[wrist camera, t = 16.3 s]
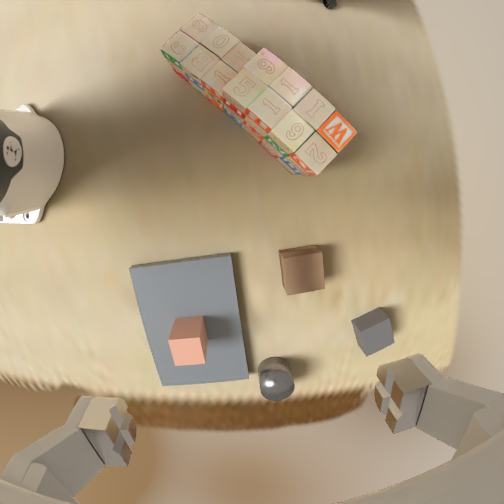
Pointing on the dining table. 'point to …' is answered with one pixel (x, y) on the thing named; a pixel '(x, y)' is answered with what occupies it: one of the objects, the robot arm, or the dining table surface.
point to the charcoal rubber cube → (373, 331)
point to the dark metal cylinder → (275, 379)
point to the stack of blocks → (260, 95)
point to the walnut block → (302, 269)
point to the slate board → (192, 315)
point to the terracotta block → (188, 341)
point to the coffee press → (329, 3)
